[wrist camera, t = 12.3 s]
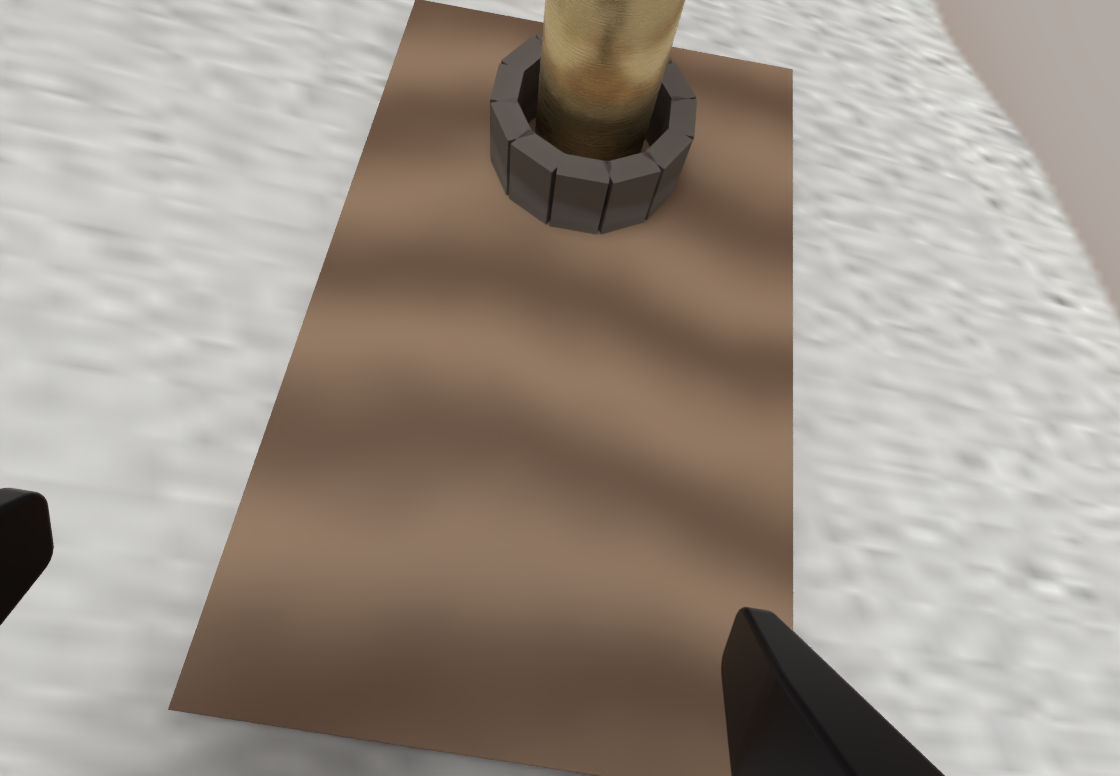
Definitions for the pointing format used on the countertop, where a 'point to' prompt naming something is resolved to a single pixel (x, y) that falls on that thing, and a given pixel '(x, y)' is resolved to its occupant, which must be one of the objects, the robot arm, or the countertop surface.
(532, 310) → the board
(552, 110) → the brass fitting
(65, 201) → the countertop surface
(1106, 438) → the countertop surface
